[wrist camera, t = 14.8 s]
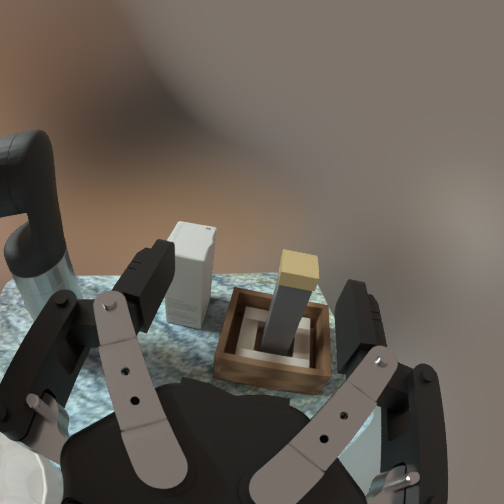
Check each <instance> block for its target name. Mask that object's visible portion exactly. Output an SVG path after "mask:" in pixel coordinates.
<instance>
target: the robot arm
mask: <svg viewBox="0 0 504 504" xmlns="http://www.w3.org/2000/svg"><path fill="white" fill-rule="evenodd" d="M22 213H27V215H28V220H29V221H28V222H26V223H25V224H23V225H21V226H20V227H19V228H18V229H16V230H15V231H14V232H13V233H12V234H11V235H10V237H9V238H8V240H7V241H6V243H5V246H4V257H5V260H6V263H7V265H8V267H9V270H10V272H11V274H12V277H13V279H14V281H15V283H16V285H17V288H18V290H19V292H20V294H21V296H22V298H23V300H24V304H25V306H26V308H27V309H28V311H29V313H30V315H31V317H32V319H33V321H34V323H33V325H32V326H31V328H30V330H29V331H28V333H27V335H26V336H25V338H24V340H23V341H22V343H21V345H20V347H19V349H18V350H17V352H16V354H15V356H14V358H13V360H12V361H11V363H10V365H9V367H8V369H7V371H6V373H5V375H4V377H3V379H2V381H1V383H0V432H1V433H2V434H4V435H5V436H6V437H7V438H9V439H10V440H12V441H13V442H15V443H17V444H18V445H20V446H22V447H24V448H26V449H29V450H31V451H32V452H34V453H37V454H41V455H43V456H44V457H46V458H48V459H50V460H52V461H53V462H55V463H57V464H59V465H60V467H61V472H62V478H63V498H62V501H61V504H447V499H448V462H447V444H446V432H445V422H444V413H443V407H442V399H441V392H440V386H439V380H438V376H437V373H436V372H435V371H434V369H433V368H432V367H431V366H429V365H427V364H419V365H417V366H416V367H415V368H414V369H412V368H410V367H408V366H405V365H403V364H400V363H398V361H397V358H396V356H395V354H394V353H393V352H392V351H391V350H390V349H389V348H387V344H386V339H385V334H384V329H383V324H382V322H381V315H380V310H379V305H378V303H377V301H376V300H375V298H374V297H373V295H370V294H368V293H367V290H366V285H365V282H361V281H356V280H351V279H349V280H348V281H347V283H346V285H345V287H344V289H343V291H342V293H341V295H340V297H339V299H338V301H337V303H336V307H335V329H336V345H337V366H338V373H339V374H346V380H345V381H344V383H343V384H342V385H341V386H340V387H339V388H338V390H337V391H336V392H335V393H334V394H333V395H332V397H331V398H330V399H329V400H328V401H327V402H326V403H325V404H324V405H323V407H322V408H321V409H320V410H319V411H318V412H317V413H316V414H315V415H314V416H313V417H312V418H311V419H309V418H308V417H307V416H306V415H305V414H304V413H302V412H301V411H299V410H298V409H296V408H294V407H292V406H289V402H290V398H283V397H276V396H270V395H243V396H236V395H232V394H230V393H228V392H226V391H223V390H221V389H219V388H217V387H215V386H213V385H211V384H209V383H205V382H201V381H197V380H193V379H189V378H186V377H182V380H181V383H171V384H165V385H161V386H158V387H156V388H154V386H153V383H152V380H151V377H150V375H149V372H148V369H147V366H146V364H145V361H144V358H143V355H142V352H141V349H140V346H139V343H138V339H137V337H136V336H137V334H138V332H139V331H141V332H144V333H147V332H148V330H149V328H150V325H151V323H152V321H153V319H154V317H155V315H156V313H157V311H158V309H159V307H160V305H161V303H162V301H163V299H164V297H165V295H166V293H167V291H168V289H169V287H170V285H171V283H172V281H173V278H174V274H175V244H174V242H170V241H165V240H161V239H158V240H157V241H156V242H155V244H154V245H153V247H152V248H151V249H150V248H144V249H143V250H141V251H140V252H138V253H137V254H136V255H135V257H134V258H133V260H132V262H131V263H130V264H129V265H128V267H127V269H126V270H125V271H124V273H123V274H122V275H121V277H120V278H119V280H118V281H117V283H116V284H115V286H114V287H113V289H112V290H111V291H106V292H103V293H101V294H100V295H98V296H97V297H96V299H92V300H90V299H83V297H82V294H81V291H80V288H79V286H78V283H77V279H76V276H75V273H74V270H73V267H72V264H71V260H70V257H69V254H68V250H67V246H66V242H65V238H64V233H63V226H62V220H61V213H60V209H59V203H58V196H57V188H56V178H55V166H54V157H53V150H52V145H51V142H50V139H49V137H48V135H47V134H46V133H45V132H44V131H42V130H31V131H26V132H22V133H18V134H14V135H10V136H6V137H3V138H0V218H1V217H5V216H11V215H17V214H22ZM91 347H99V353H100V357H101V362H102V366H103V370H104V374H105V378H106V382H107V386H108V390H109V393H110V397H111V400H112V404H113V407H114V410H115V411H114V412H113V413H111V414H109V415H107V416H106V417H104V418H102V419H100V420H99V421H97V422H95V423H93V424H91V425H90V426H88V427H86V428H84V429H82V430H80V431H79V432H77V433H75V434H73V435H72V436H71V437H69V434H68V426H69V416H68V413H67V411H66V410H65V409H64V408H65V405H66V403H67V400H68V398H69V395H70V393H71V391H72V388H73V386H74V383H75V381H76V379H77V376H78V374H79V372H80V370H81V367H82V365H83V363H84V361H85V359H86V356H87V354H88V352H89V350H90V348H91ZM376 405H377V406H380V407H381V427H382V428H381V438H382V439H381V469H380V474H378V475H377V476H376V477H375V478H374V479H373V481H372V483H371V486H370V488H369V492H368V494H367V495H366V496H365V495H364V493H363V491H362V490H361V489H360V487H359V486H358V485H357V483H356V482H355V481H354V480H353V478H352V477H351V476H350V474H349V473H348V471H347V470H346V469H345V467H344V466H343V465H342V463H341V462H340V460H339V459H338V458H337V457H338V456H339V454H340V453H341V452H342V451H343V450H344V448H345V447H346V446H347V445H348V443H349V442H350V441H351V440H352V438H353V437H354V436H355V434H356V433H357V432H358V430H359V429H360V428H361V426H362V425H363V424H364V422H365V421H366V420H367V418H368V417H369V415H370V414H371V412H372V411H373V410H374V408H375V407H376Z"/></svg>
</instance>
